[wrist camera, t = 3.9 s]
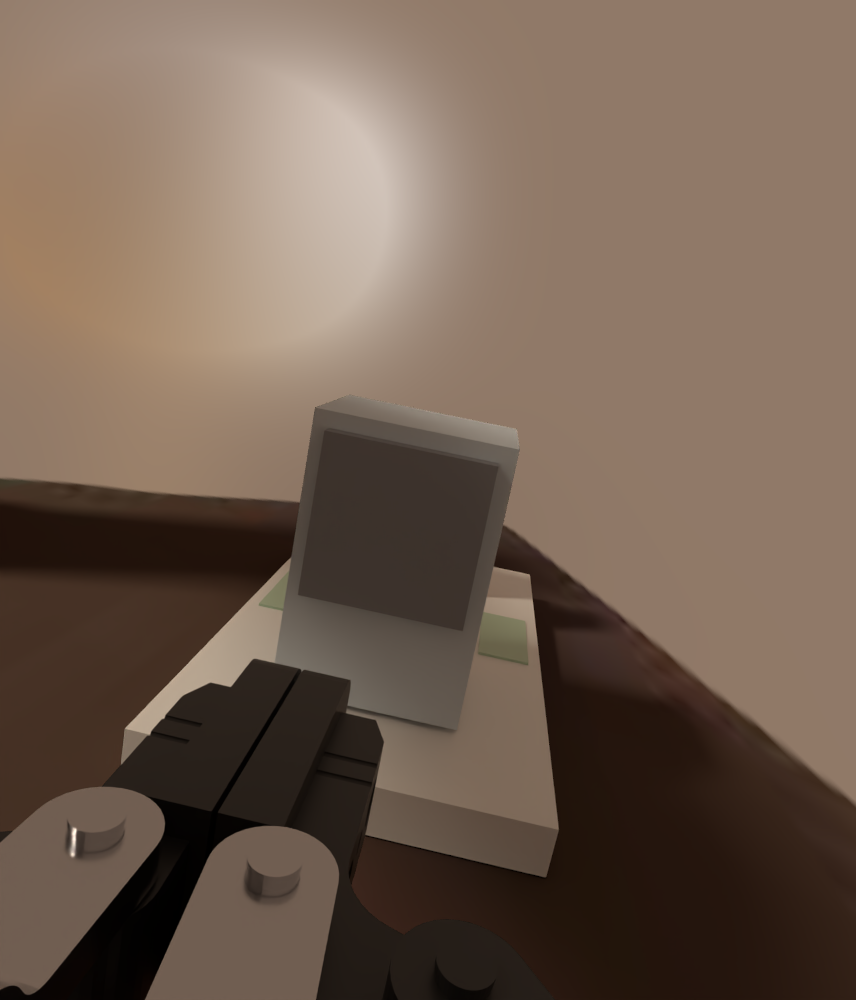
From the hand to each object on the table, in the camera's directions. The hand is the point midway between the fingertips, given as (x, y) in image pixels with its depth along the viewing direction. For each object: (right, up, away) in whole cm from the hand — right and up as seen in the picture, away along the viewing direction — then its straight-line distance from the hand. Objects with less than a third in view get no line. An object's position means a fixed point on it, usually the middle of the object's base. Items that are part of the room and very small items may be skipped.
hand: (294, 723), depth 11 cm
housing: (0, -3, +20) cm, 20 cm away
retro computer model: (0, -3, +15) cm, 15 cm away
